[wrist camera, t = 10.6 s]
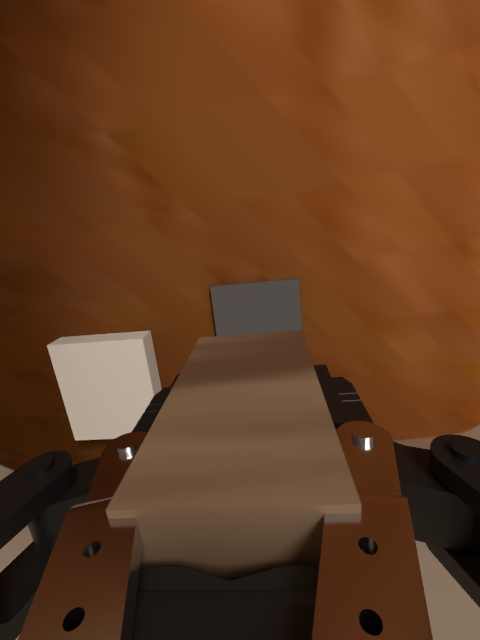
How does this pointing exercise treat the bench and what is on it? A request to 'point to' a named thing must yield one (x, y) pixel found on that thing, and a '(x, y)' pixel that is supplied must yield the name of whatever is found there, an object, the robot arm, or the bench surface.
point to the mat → (257, 307)
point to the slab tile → (105, 381)
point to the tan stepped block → (238, 462)
